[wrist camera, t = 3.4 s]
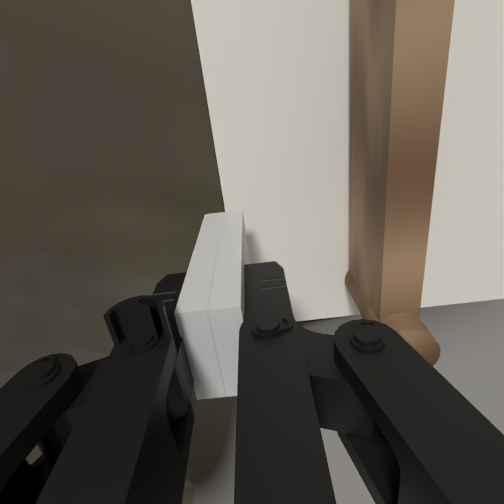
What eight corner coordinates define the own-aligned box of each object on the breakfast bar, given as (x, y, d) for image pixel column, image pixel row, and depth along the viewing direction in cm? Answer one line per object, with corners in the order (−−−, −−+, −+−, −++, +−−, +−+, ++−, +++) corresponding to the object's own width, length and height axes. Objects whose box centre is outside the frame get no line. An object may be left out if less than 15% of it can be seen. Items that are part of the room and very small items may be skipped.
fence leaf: (344, -46, 11) (417, -143, 6) (400, -54, 11) (518, -159, 6) (345, 296, 17) (384, 378, 12) (382, 291, 17) (436, 373, 12)
